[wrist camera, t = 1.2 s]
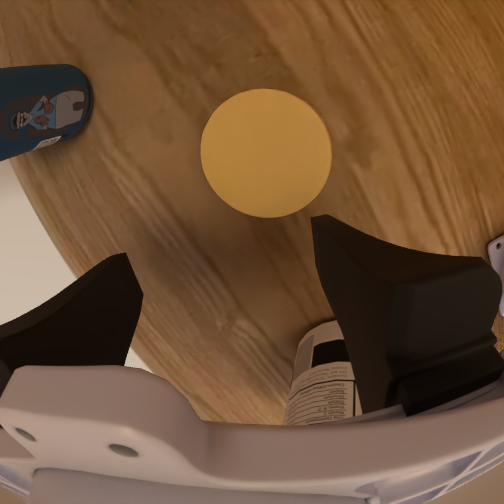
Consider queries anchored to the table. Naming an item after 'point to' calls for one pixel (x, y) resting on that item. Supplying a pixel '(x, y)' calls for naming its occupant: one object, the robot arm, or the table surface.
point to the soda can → (41, 106)
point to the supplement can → (322, 380)
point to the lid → (266, 152)
